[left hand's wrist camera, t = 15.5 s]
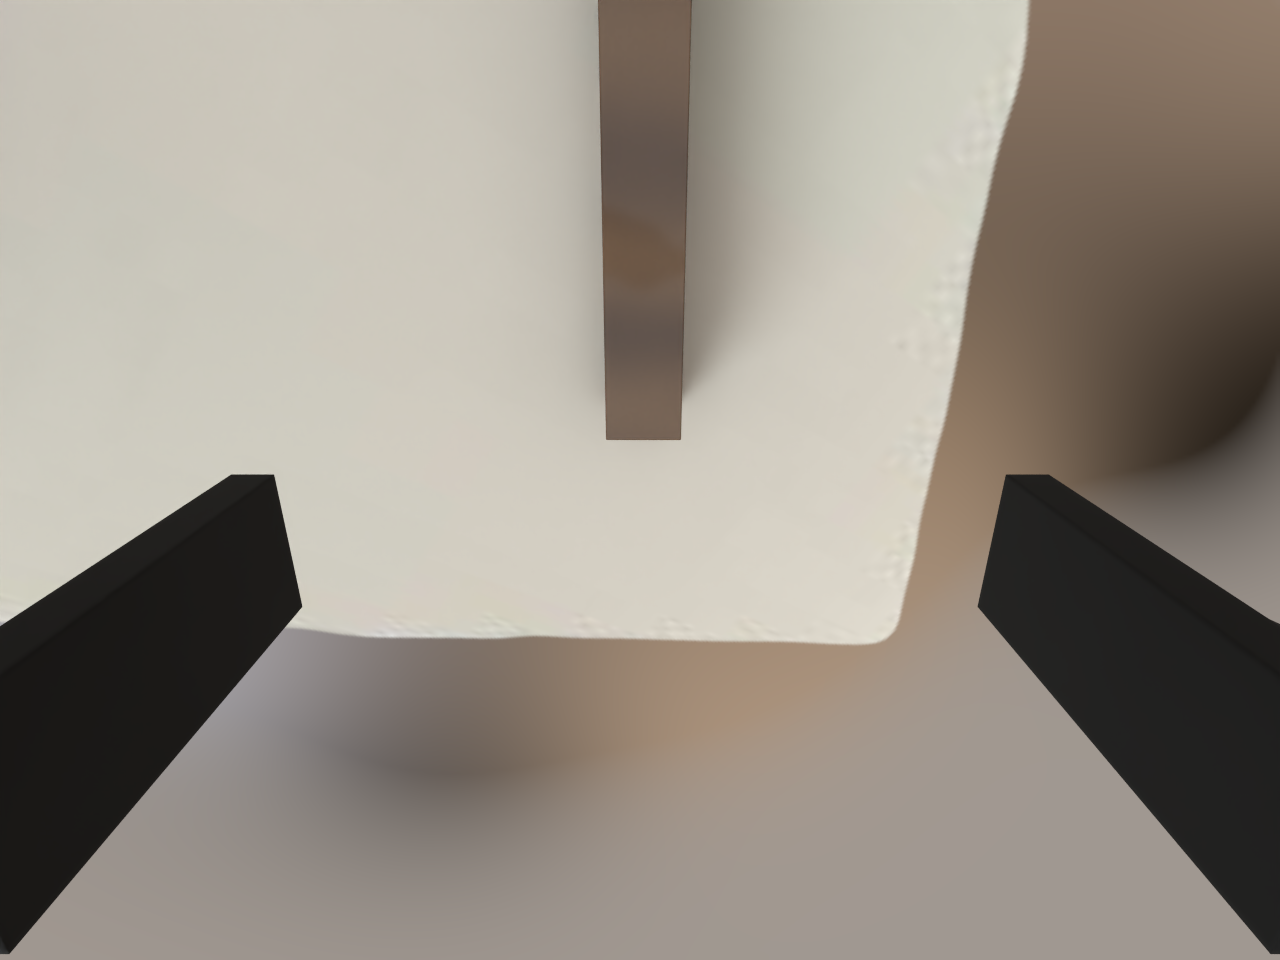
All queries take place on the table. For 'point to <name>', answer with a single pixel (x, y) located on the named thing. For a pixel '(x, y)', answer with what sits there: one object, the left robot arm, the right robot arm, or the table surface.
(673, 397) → the beam
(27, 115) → the table surface
